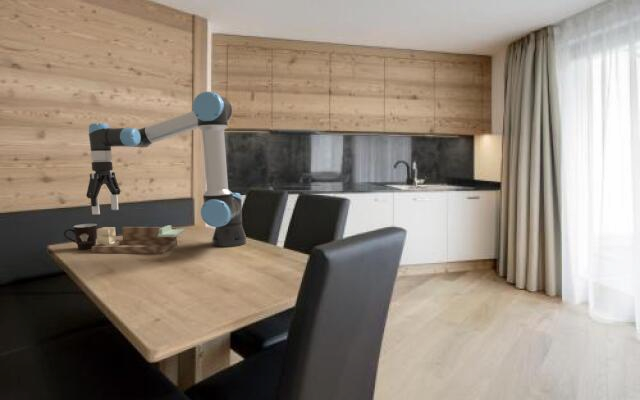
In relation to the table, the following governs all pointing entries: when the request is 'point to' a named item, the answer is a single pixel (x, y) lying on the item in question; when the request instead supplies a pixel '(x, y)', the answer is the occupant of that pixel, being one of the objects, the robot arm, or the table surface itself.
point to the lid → (169, 231)
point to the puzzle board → (138, 242)
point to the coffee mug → (84, 236)
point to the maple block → (106, 235)
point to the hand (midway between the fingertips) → (105, 211)
